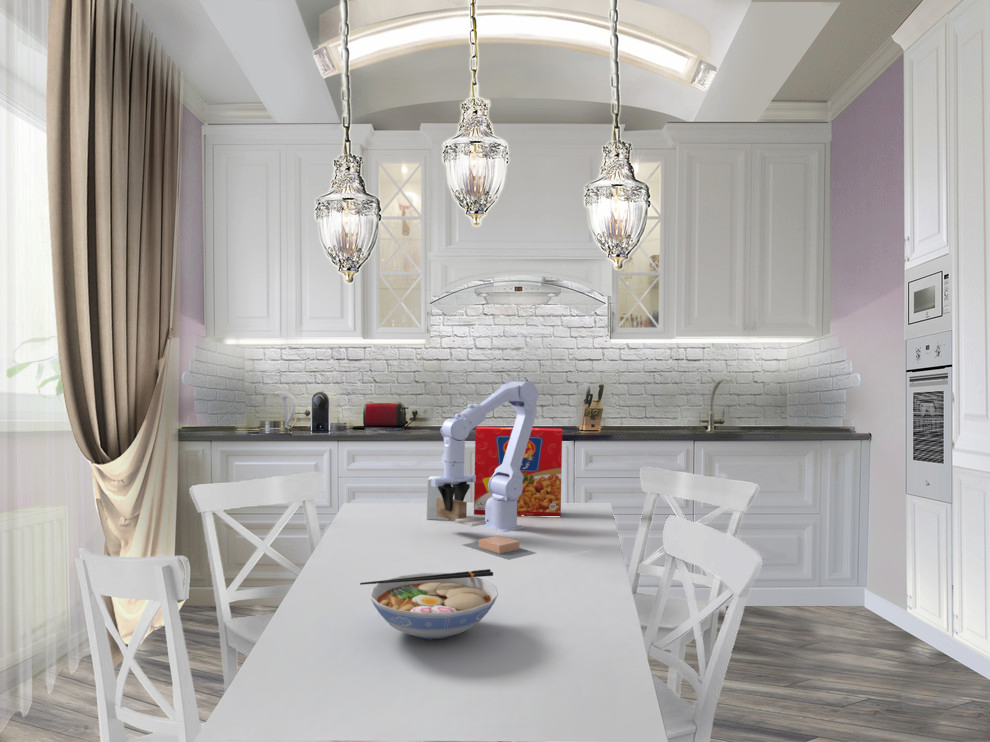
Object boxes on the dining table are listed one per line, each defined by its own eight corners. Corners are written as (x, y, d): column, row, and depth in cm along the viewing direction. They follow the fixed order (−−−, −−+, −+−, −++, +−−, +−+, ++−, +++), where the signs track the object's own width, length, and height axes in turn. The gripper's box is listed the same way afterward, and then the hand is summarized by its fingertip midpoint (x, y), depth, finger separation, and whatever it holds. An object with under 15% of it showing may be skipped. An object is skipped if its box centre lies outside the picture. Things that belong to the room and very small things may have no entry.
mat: (461, 546, 182) (461, 544, 182) (489, 540, 189) (489, 539, 189) (508, 561, 169) (508, 559, 169) (536, 554, 175) (536, 552, 175)
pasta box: (473, 514, 222) (475, 428, 222) (476, 509, 230) (478, 426, 230) (560, 518, 220) (562, 430, 220) (560, 512, 228) (562, 428, 228)
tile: (478, 539, 179) (499, 545, 173) (498, 535, 184) (519, 541, 178) (478, 547, 179) (499, 554, 173) (498, 543, 184) (519, 549, 178)
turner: (433, 516, 195) (433, 498, 195) (447, 513, 199) (447, 496, 199) (472, 526, 183) (472, 508, 183) (486, 524, 186) (486, 505, 186)
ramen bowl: (369, 666, 108) (370, 614, 108) (356, 615, 130) (357, 572, 130) (520, 650, 115) (521, 602, 115) (484, 605, 137) (485, 564, 137)
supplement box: (449, 520, 213) (450, 479, 213) (425, 519, 213) (426, 479, 213) (451, 515, 221) (452, 476, 221) (428, 514, 221) (429, 475, 221)
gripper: (442, 465, 185) (441, 515, 185) (483, 461, 194) (482, 509, 195) (426, 462, 190) (425, 511, 190) (467, 458, 200) (466, 505, 200)
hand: (453, 510), depth 193 cm, fingers closed on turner, 3 cm apart
